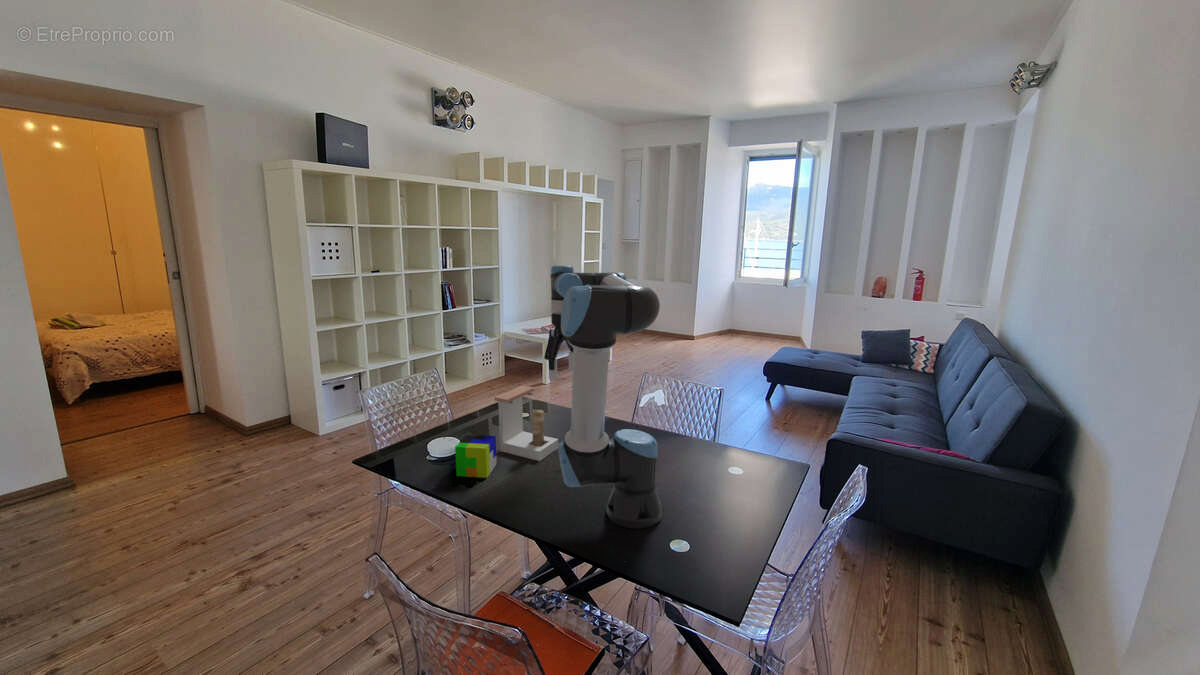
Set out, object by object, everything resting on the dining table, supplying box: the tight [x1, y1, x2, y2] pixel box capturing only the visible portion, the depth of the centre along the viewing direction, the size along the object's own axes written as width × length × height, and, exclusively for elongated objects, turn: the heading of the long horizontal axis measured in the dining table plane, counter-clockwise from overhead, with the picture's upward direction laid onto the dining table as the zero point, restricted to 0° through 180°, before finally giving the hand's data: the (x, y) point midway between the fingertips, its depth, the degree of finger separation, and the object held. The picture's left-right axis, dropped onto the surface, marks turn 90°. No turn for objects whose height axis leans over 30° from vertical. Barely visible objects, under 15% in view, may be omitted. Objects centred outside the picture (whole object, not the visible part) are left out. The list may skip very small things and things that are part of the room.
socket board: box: [499, 430, 559, 462], centre depth 176 cm, size 12×17×4 cm
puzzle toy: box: [454, 434, 497, 479], centre depth 160 cm, size 10×10×10 cm
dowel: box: [531, 409, 545, 447], centre depth 173 cm, size 4×4×15 cm
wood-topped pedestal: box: [494, 385, 535, 443], centre depth 177 cm, size 16×6×17 cm, turn 153°
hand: (563, 374), depth 166 cm, fingers open, 13 cm apart
